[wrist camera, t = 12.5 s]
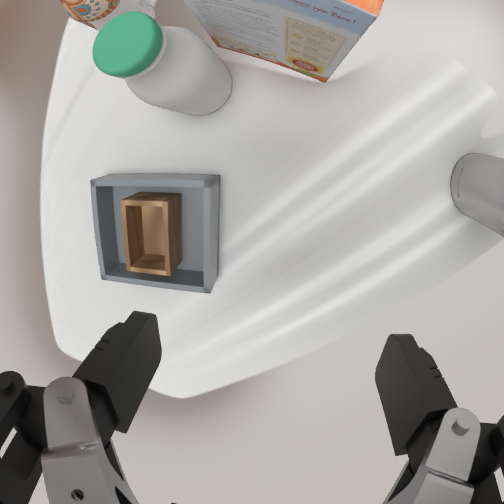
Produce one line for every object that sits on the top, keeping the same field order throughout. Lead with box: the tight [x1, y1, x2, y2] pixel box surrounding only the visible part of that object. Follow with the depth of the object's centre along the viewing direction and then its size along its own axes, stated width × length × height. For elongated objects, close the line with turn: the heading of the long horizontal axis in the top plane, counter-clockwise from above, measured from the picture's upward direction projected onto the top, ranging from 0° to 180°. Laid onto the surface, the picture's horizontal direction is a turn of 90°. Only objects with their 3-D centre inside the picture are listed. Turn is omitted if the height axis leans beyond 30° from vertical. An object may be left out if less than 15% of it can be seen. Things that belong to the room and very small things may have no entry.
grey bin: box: [90, 174, 220, 293], centre depth 36 cm, size 16×14×5 cm
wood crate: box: [121, 192, 183, 276], centre depth 35 cm, size 6×9×5 cm, turn 177°
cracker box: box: [183, 0, 384, 82], centre depth 19 cm, size 14×6×21 cm, turn 69°
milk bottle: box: [93, 11, 232, 115], centre depth 22 cm, size 8×8×20 cm
